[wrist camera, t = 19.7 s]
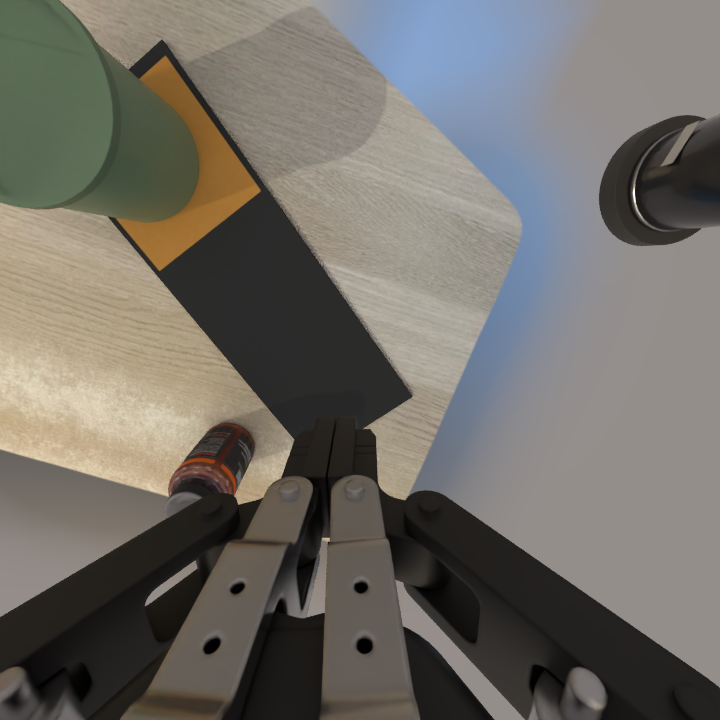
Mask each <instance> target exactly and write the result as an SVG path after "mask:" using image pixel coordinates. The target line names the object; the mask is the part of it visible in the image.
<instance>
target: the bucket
mask: <svg viewBox="0 0 720 720" xmlns="http://www.w3.org/2000/svg"><path fill="white" fill-rule="evenodd" d="M198 176H199V158H198V152H197V148H196V144H195V142H194V139H193V136H192V134H191V132H190V130H189V128H188V127H187V125H186V123H185V122H184V120H183V119H182V118H181V117H180V115H179V114H178V113H177V112H176V111H175V110H174V109H173V108H172V107H171V106H170V105H169V104H168V103H166V102H165V101H164V100H163V99H162V98H161V97H159V96H158V95H157V94H156V93H155V92H154V91H152V90H151V89H150V88H149V87H148V86H147V85H145V84H144V83H143V82H142V81H141V80H140V79H138V78H137V77H136V76H135V75H134V74H133V73H132V72H130V71H129V70H128V69H127V68H126V67H125V66H123V65H122V64H121V63H120V62H119V61H118V60H116V59H115V58H114V57H113V56H112V55H111V54H109V53H108V52H107V51H106V50H105V49H104V48H102V47H101V46H100V45H99V44H98V43H97V42H96V41H95V40H94V38H93V36H92V35H91V33H90V32H89V31H88V30H87V28H86V27H85V26H84V25H83V24H82V22H81V21H80V20H79V19H78V18H77V17H76V16H75V15H74V14H73V13H72V12H71V11H70V10H69V9H68V8H67V7H66V6H65V5H64V4H63V3H62V2H61V1H59V0H0V203H4V204H8V205H11V206H17V207H23V208H30V209H53V208H65V209H71V210H76V211H82V212H87V213H92V214H98V215H103V216H109V217H114V218H120V219H125V220H131V221H136V222H144V223H153V222H159V221H163V220H166V219H168V218H171V217H173V216H174V215H176V214H177V213H179V212H180V211H181V210H182V209H183V208H184V207H185V206H186V205H187V204H188V202H189V201H190V199H191V197H192V196H193V194H194V191H195V189H196V186H197V182H198Z"/></svg>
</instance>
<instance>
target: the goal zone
mask: <svg viewBox="0 0 720 720" xmlns="http://www.w3.org/2000/svg"><path fill="white" fill-rule="evenodd" d="M140 80H141V81H142V82H143V83H144V84H145V85H147V86H148V87H149V88H150V89H151V90H152V91H154V92H155V93H156V94H157V95H158V96H159V97H161V98H162V99H163V100H164V101H165V102H166V103H168V104H169V105H170V106H171V107H172V108H173V109H174V110H175V111H176V112H177V113H178V114H179V115H180V117H181V118H182V119H183V120H184V122H185V123H186V125H187V127H188V128H189V130H190V132H191V134H192V136H193V139H194V142H195V144H196V148H197V152H198V158H199V176H198V182H197V186H196V189H195V191H194V194H193V196H192V197H191V199H190V201H189V202H188V204H187V205H186V206H185V207H184V208H183V209H182V210H181V211H180V212H179V213H177V214H176V215H174V216H173V217H171V218H168V219H166V220H163V221H159V222H153V223H144V222H136V221H131V220H125V219H120V218H116V219H117V221H118V222H119V223H120V224H121V225H122V227H123V228H124V229H125V230H126V231H127V233H128V234H129V235H130V236H131V237H132V239H133V240H134V241H135V242H136V243H137V245H138V246H139V247H140V248H141V249H142V251H143V252H144V253H145V254H146V255H147V257H148V258H149V259H150V260H151V261H152V263H153V264H154V265H155V266H156V267H157V269H158V270H159V271H160V270H162V269H163V268H164V267H165V266H167V265H168V264H169V263H170V262H172V261H173V260H174V259H176V258H177V257H178V256H179V255H181V254H182V253H183V252H184V251H186V250H187V249H188V248H189V247H191V246H192V245H193V244H195V243H196V242H197V241H198V240H200V239H201V238H202V237H203V236H205V235H206V234H207V233H209V232H210V231H211V230H212V229H214V228H215V227H216V226H217V225H219V224H220V223H221V222H222V221H224V220H225V219H226V218H228V217H229V216H230V215H231V214H233V213H234V212H235V211H236V210H238V209H239V208H240V207H241V206H243V205H244V204H245V203H247V202H248V201H249V200H250V199H252V198H253V197H254V196H255V195H257V194H258V193H259V192H260V191H261V190H260V189H259V187H258V186H257V184H256V183H255V182H254V180H253V179H252V177H251V176H250V174H249V173H248V172H247V170H246V169H245V167H244V166H243V165H242V163H241V162H240V160H239V159H238V157H237V156H236V155H235V153H234V152H233V150H232V149H231V148H230V146H229V145H228V143H227V142H226V140H225V139H224V138H223V136H222V135H221V133H220V132H219V131H218V129H217V128H216V126H215V125H214V123H213V122H212V121H211V119H210V118H209V116H208V115H207V114H206V112H205V111H204V109H203V108H202V106H201V105H200V104H199V102H198V101H197V99H196V98H195V97H194V95H193V94H192V92H191V91H190V89H189V88H188V87H187V85H186V84H185V82H184V81H183V80H182V78H181V77H180V75H179V74H178V72H177V71H176V70H175V68H174V67H173V65H172V64H171V62H170V61H169V60H168V58H167V57H166V55H165V56H164V57H163V58H162V59H161V60H160V61H159V62H158V63H157V64H155V65H154V66H153V67H152V68H151V69H150V70H149V71H148V72H146V73H145V74H144V75H143V76H142V77H141V78H140Z"/></svg>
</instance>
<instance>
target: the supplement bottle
mask: <svg viewBox="0 0 720 720" xmlns="http://www.w3.org/2000/svg"><path fill="white" fill-rule="evenodd" d="M253 455H254V442H253V439H252V437H251V436H250V434H249V433H248V432H247V431H246V430H245V429H243V428H241V427H240V426H237V425H235V424H220V425H217V426H214V427H213V428H211V429H210V430H209V431H208V432H207V433H206V434H205V435H204V436H203V437H202V439H201V440H200V441H199V442H198V444H197V445H196V446H195V447H194V449H193V450H192V451H191V452H190V454H189V455H188V456H187V457H186V459H185V460H184V461H183V462H182V464H181V465H180V466H179V467H178V469H177V470H176V471H175V473H174V474H173V476H172V478H171V479H170V482H169V488H168V490H169V491H168V493H169V498H168V500H167V501H166V504H165V508H164V512H165V515H166V518H169V517H170V516H172V515H174V514H175V513H177V512H179V511H180V510H182V509H184V508H186V507H187V506H189V505H191V504H192V503H194V502H196V501H197V500H199V499H201V498H203V497H205V496H207V495H211V494H215V493H228V494H231V495H233V496H234V495H235V493H236V491H237V489H238V487H239V484H240V482H241V480H242V478H243V476H244V474H245V472H246V470H247V468H248V466H249V464H250V462H251V459H252V457H253Z"/></svg>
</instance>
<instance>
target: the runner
mask: <svg viewBox="0 0 720 720" xmlns="http://www.w3.org/2000/svg"><path fill="white" fill-rule="evenodd" d="M165 55H166V57H167V58H168V60H169V61H170V62H171V64H172V65H173V67H174V68H175V70H176V71H177V72H178V74H179V75H180V77H181V78H182V80H183V81H184V82H185V84H186V85H187V87H188V88H189V89H190V91H191V92H192V94H193V95H194V97H195V98H196V99H197V101H198V102H199V104H200V105H201V106H202V108H203V109H204V111H205V112H206V114H207V115H208V116H209V118H210V119H211V121H212V122H213V123H214V125H215V126H216V128H217V129H218V131H219V132H220V133H221V135H222V136H223V138H224V139H225V140H226V142H227V143H228V145H229V146H230V148H231V149H232V150H233V152H234V153H235V155H236V156H237V157H238V159H239V160H240V162H241V163H242V165H243V166H244V167H245V169H246V170H247V172H248V173H249V174H250V176H251V177H252V179H253V180H254V182H255V183H256V184H257V186H258V187H259V189H260V190H261V191H260V192H259V193H258V194H257V195H255V196H254V197H253V198H252V199H250V200H249V201H248V202H247V203H245V204H244V205H243V206H241V207H240V208H239V209H238V210H236V211H235V212H234V213H233V214H231V215H230V216H229V217H228V218H226V219H225V220H224V221H222V222H221V223H220V224H219V225H217V226H216V227H215V228H214V229H212V230H211V231H210V232H209V233H207V234H206V235H205V236H203V237H202V238H201V239H200V240H198V241H197V242H196V243H195V244H193V245H192V246H191V247H189V248H188V249H187V250H186V251H184V252H183V253H182V254H181V255H179V256H178V257H177V258H176V259H174V260H173V261H172V262H170V263H169V264H168V265H167V266H165V267H164V268H163V269H162V270H160V271H159V270H158V269H157V267H156V266H155V265H154V264H153V263H152V261H151V260H150V259H149V258H148V257H147V255H146V254H145V253H144V252H143V251H142V249H141V248H140V247H139V246H138V245H137V243H136V242H135V241H134V240H133V239H132V237H131V236H130V235H129V234H128V233H127V231H126V230H125V229H124V228H123V227H122V225H121V224H120V223H119V222H118V221H117V219H116V218H114V217H109V216H108V217H109V219H110V220H111V221H112V222H113V223H114V225H115V226H116V227H117V228H118V229H119V231H120V232H121V233H122V234H123V235H124V237H125V238H126V239H127V240H128V241H129V243H130V244H131V245H132V246H133V247H134V249H135V250H136V251H137V252H138V253H139V254H140V256H141V257H142V258H143V259H144V260H145V262H146V263H147V264H148V265H149V266H150V268H151V269H152V270H153V271H154V272H155V274H156V275H157V276H158V277H159V278H160V280H161V281H162V282H163V283H164V284H165V286H166V287H167V288H168V289H169V290H170V291H171V293H172V294H173V295H174V296H175V297H176V299H177V300H178V301H179V302H180V303H181V305H182V306H183V307H184V308H185V309H186V311H187V312H188V313H189V314H190V315H191V317H192V318H193V319H194V320H195V321H196V323H197V324H198V325H199V326H200V327H201V328H202V330H203V331H204V332H205V333H206V334H207V336H208V337H209V338H210V339H211V340H212V342H213V343H214V344H215V345H216V346H217V348H218V349H219V350H220V351H221V352H222V354H223V355H224V356H225V357H226V358H227V360H228V361H229V362H230V363H231V364H232V365H233V367H234V368H235V369H236V370H237V371H238V373H239V374H240V375H241V376H242V377H243V379H244V380H245V381H246V382H247V383H248V385H249V386H250V387H251V388H252V389H253V391H254V392H255V393H256V394H257V395H258V397H259V398H260V399H261V400H262V401H263V402H264V404H265V405H266V406H267V407H268V408H269V410H270V411H271V412H272V413H273V414H274V416H275V417H276V418H277V419H278V420H279V422H280V423H281V424H282V425H283V426H284V428H285V429H286V430H287V431H288V432H289V434H290V435H291V436H292V437H293V438H294V439H295V438H296V437H297V436H298V435H299V434H300V433H301V432H302V431H303V430H314V427H315V423H316V420H317V417H336V418H337V417H356V419H357V429H363V428H364V427H366V426H368V425H369V424H371V423H372V422H374V421H375V420H377V419H378V418H380V417H382V416H383V415H385V414H386V413H388V412H389V411H391V410H392V409H394V408H396V407H397V406H399V405H400V404H402V403H403V402H405V401H407V400H408V399H410V398H411V397H412V395H411V394H410V392H409V391H408V390H407V388H406V387H405V385H404V384H403V382H402V381H401V380H400V378H399V377H398V375H397V374H396V372H395V371H394V370H393V368H392V367H391V365H390V364H389V362H388V361H387V360H386V358H385V357H384V355H383V354H382V352H381V351H380V350H379V348H378V347H377V345H376V344H375V342H374V341H373V340H372V338H371V337H370V335H369V334H368V332H367V331H366V330H365V328H364V327H363V325H362V324H361V322H360V321H359V320H358V318H357V317H356V315H355V314H354V312H353V311H352V310H351V308H350V307H349V305H348V304H347V302H346V301H345V300H344V298H343V297H342V295H341V294H340V292H339V291H338V290H337V288H336V287H335V285H334V284H333V282H332V281H331V280H330V278H329V277H328V275H327V274H326V272H325V271H324V270H323V268H322V267H321V265H320V264H319V262H318V261H317V260H316V258H315V257H314V255H313V254H312V252H311V251H310V250H309V248H308V247H307V245H306V244H305V242H304V241H303V240H302V238H301V237H300V235H299V234H298V232H297V231H296V230H295V228H294V227H293V225H292V224H291V222H290V221H289V220H288V218H287V217H286V215H285V214H284V212H283V211H282V210H281V208H280V207H279V205H278V204H277V202H276V201H275V200H274V198H273V197H272V195H271V194H270V192H269V191H268V190H267V188H266V187H265V185H264V184H263V182H262V181H261V180H260V178H259V177H258V175H257V174H256V172H255V171H254V170H253V168H252V167H251V165H250V164H249V162H248V161H247V160H246V158H245V157H244V155H243V154H242V152H241V151H240V150H239V148H238V147H237V145H236V144H235V142H234V141H233V140H232V138H231V137H230V135H229V134H228V132H227V131H226V130H225V128H224V127H223V125H222V124H221V122H220V121H219V120H218V118H217V117H216V115H215V114H214V112H213V111H212V110H211V108H210V107H209V105H208V104H207V102H206V101H205V100H204V98H203V97H202V95H201V94H200V92H199V91H198V90H197V88H196V87H195V85H194V84H193V82H192V81H191V80H190V78H189V77H188V75H187V74H186V72H185V71H184V70H183V68H182V67H181V65H180V64H179V62H178V61H177V60H176V58H175V57H174V55H173V54H172V52H171V51H170V50H169V48H168V47H167V45H166V44H165V42H164V41H163V40H161V41H160V42H159V43H158V44H156V45H155V46H154V47H153V48H152V49H151V50H150V51H149V52H148V53H146V54H145V55H144V56H143V57H142V58H141V59H140V60H139V61H138V62H137V63H135V64H134V65H133V66H132V67H131V68H130V69H129V71H130V72H132V73H133V74H134V75H135V76H136V77H137V78H138V79H140V78H141V77H142V76H143V75H144V74H145V73H146V72H148V71H149V70H150V69H151V68H152V67H153V66H154V65H155V64H157V63H158V62H159V61H160V60H161V59H162V58H163V57H164V56H165Z"/></svg>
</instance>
